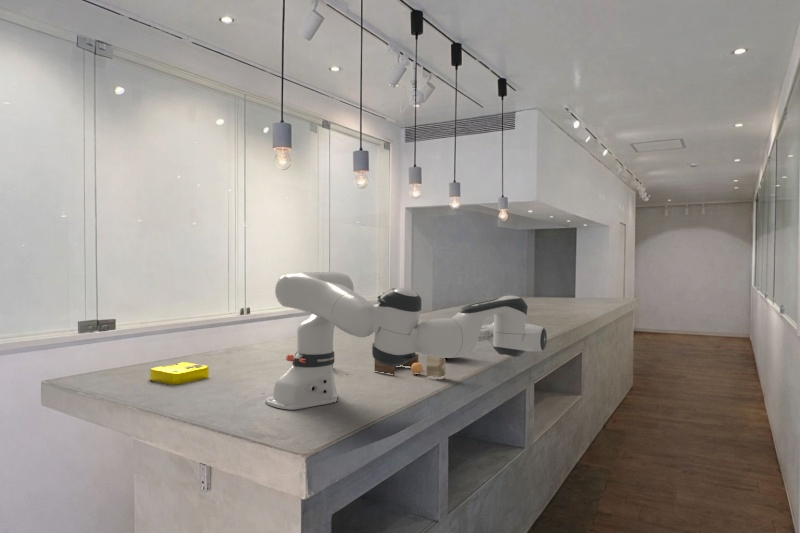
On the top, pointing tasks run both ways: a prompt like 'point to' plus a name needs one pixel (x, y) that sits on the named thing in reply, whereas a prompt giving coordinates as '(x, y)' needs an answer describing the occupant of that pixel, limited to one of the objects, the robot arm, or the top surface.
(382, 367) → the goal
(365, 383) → the top surface
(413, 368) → the ball
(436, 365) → the block
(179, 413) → the top surface
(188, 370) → the element tile
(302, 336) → the robot arm
